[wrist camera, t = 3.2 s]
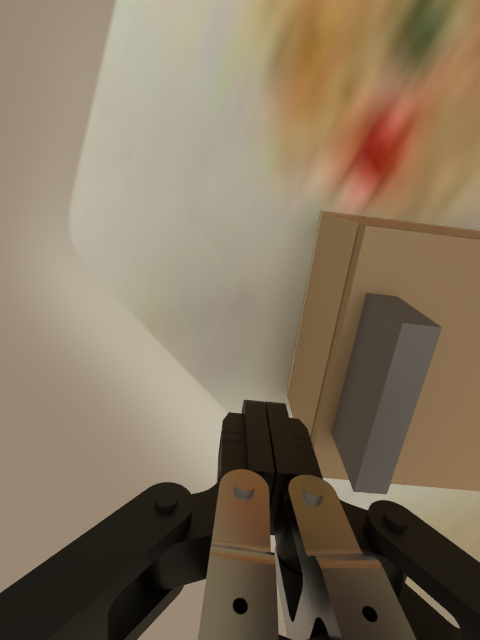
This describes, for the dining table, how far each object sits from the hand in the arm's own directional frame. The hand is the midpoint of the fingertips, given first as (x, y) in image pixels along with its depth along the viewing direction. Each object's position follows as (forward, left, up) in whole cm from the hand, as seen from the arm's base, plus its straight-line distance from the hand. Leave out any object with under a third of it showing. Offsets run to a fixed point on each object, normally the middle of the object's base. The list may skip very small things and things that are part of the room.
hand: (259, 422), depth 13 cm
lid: (-14, 0, -6) cm, 15 cm away
